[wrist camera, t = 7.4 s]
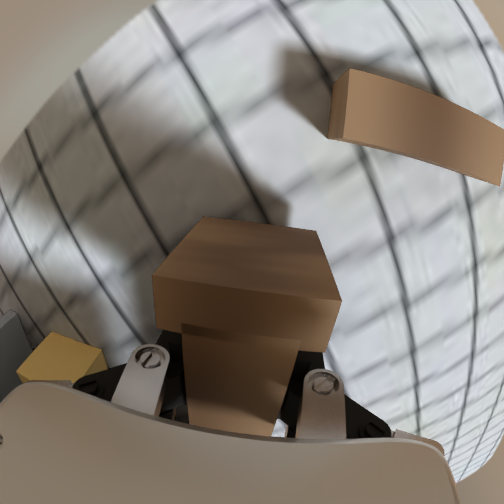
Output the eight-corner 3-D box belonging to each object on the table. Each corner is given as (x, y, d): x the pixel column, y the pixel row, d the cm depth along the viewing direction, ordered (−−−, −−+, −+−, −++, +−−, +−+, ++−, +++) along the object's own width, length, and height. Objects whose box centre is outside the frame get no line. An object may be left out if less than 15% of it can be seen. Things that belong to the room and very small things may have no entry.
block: (102, 348, 16) (67, 399, 12) (117, 392, 18) (92, 439, 14) (52, 330, 17) (16, 371, 12) (69, 374, 18) (42, 414, 14)
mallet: (316, 230, 11) (342, 301, 6) (256, 460, 18) (251, 510, 14) (63, 203, 11) (-13, 240, 7) (124, 431, 19) (105, 473, 14)
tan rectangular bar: (467, 128, 9) (506, 131, 7) (462, 174, 10) (499, 186, 8) (332, 84, 10) (349, 68, 7) (326, 138, 11) (342, 138, 8)
